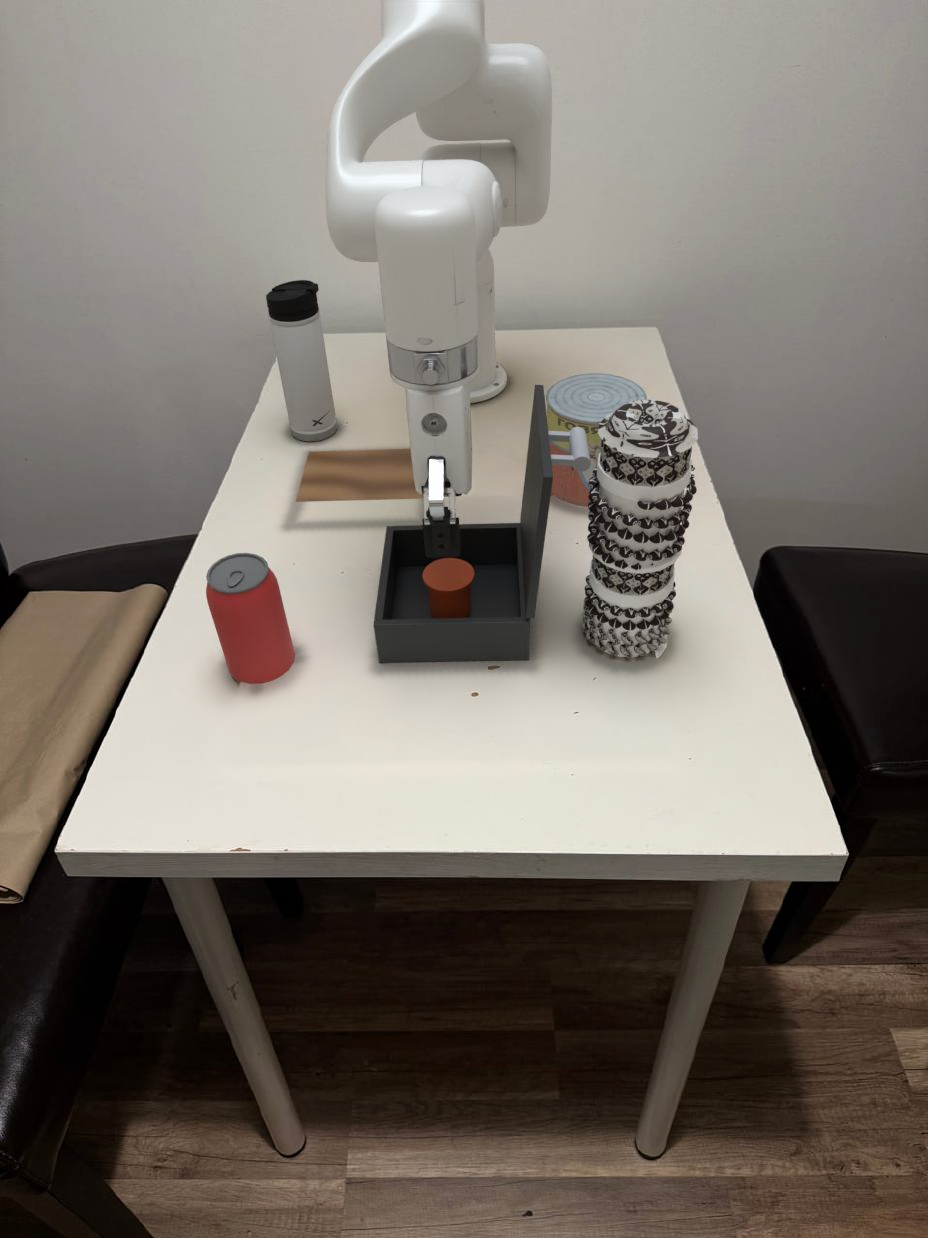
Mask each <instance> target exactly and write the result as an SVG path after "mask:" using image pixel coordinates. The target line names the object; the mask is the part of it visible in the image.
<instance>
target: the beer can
mask: <svg viewBox="0 0 928 1238" xmlns="http://www.w3.org/2000/svg"><path fill="white" fill-rule="evenodd" d="M205 577H206V582H207V583H206V588H205V596H206V601H207V605H208V609H209V612H210V615H211V618H212V621H213V625H214V627H215V628H214V629H215V631H216V634H217V637H218V641H219V643H220V647H221V651H222V653H223V657H224V660H225V663H226V666H227V670H228V673H229V674H230V675H231V677H232V678H233V679H234V680H235V681H237V682H239V683H244V684H245V683H246V684H249V685H254V684H255V685H256V684H257V685H258V684H260V685H261V684H265V683H269V682H272V681H274V680H277V679H278V678H280V677H282V676H284V675H285V674H286V673H287V672H289V670H290V669H291V667H292V666H293V664H294V662H295V657H296V653H295V649H294V644H293V640H292V636H291V632H290V628H289V623H288V618H287V615H286V614H287V613H286V610H285V606H284V601H283V598H282V594H281V589H280V584H279V582H278V578H277V576H276V575H275V573H274V571H273V570H272V569H271V568H270V567H269V563H268V561H266V559H265V558H264V557H262V556H260V555H258V554H256V553H251V552H236V553H232V554H228V555H225V556H224V557H222V558H220V559H218V560H217V561H215V562H214V563H213V564H212V565H211V566H210V567H209V569H208V570H207V573H206V576H205Z"/></svg>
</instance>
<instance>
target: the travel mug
mask: <svg viewBox="0 0 928 1238" xmlns="http://www.w3.org/2000/svg"><path fill="white" fill-rule="evenodd" d="M319 290H320V289H319V284H318V283H317V282H313V281H311V280H307V279H297V280H291V281H286V282H282V283H280V284H277V285H276V286H274V287H273V288H271V290H270V291H269V292H267V294H266V295H265V300H266V306H267V311H268V319H269V324H270V330H271V334H272V335H271V336H272V339H273V344H274V350H275V355H276V360H277V361H276V362H277V365H278V366H277V367H278V371H279V377H280V381H281V387H282V391H283V398H284V401H285V407H286V412H287V417H288V422H289V428H290V432H291V435H292V436H293V437H294V438H295V439H297V440H300V441H303V442H319V441H323V440H325V439H328V438H329V437H331V436H333V435H334V434H335V432H336V431H337V430H338V424H337V423H338V422H337V417H336V409H335V404H334V396H333V391H332V384H331V377H330V371H329V364H328V357H327V351H326V344H325V336H324V331H323V324H322V317H321V314H320V312H321V311H320V308H319V307H320V306H319V302H318V296H317V293H319Z"/></svg>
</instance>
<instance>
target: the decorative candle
mask: <svg viewBox="0 0 928 1238" xmlns="http://www.w3.org/2000/svg"><path fill="white" fill-rule="evenodd" d="M598 434H599V436H600V437H601V439H602V440H601V452H600V453H599V457H598V464H597V467H596V468H595V469H594V470H593V472H592V475H593V477H591V478H590V480H589V487H590V488H591V489H590V492H589V494H588V498H589V500H590V502H589V503H588V507H587V508H588V510H589V512H588V515H587V518H588V520H589V523H588V525H587V531H588V532H589V534H588V535H587V536H586V539H587V542H588V547H589V550H590V551H591V553H592V558H591V560H590V566H589V574H588V575H587V576H586V577H585V583H586V585H585V586H584V594H585V596H586V597H585V598H584V599H583V612H582V621H583V622H582V624H581V629H582V632H583V634H585V635H586V640H587V641H588V642H589V643H591V644H592V645H595V647H596V648H597V650H599V651H600V652H604V653H607V654H609V655H611V656H612V657H620V658H625V659H632V658H637V657H638V658H641V657H644V656H646V655H648V654H651V653H652V652H654V653H655V659H656V660H658V659H660V658H661V656H662V655H663V653H664V652H665V650H666V649H667V646H668V636H669V635H670V634H671V631H670V629H669V627H667V626H669V625H670V624H671V623H672V622H673V618H672V617H670V614H672V612H673V610H674V607H675V605H674V603H673V600H674V599H675V598H676V595H677V592H676V589H675V588H676V586H677V585H676V582H675V563H676V562H677V561H678V559H679V557H681V555H682V551H683V545H684V544H685V542H686V539H685V537H684V535H685V533H686V529H688V528H689V527H690V521H689V520H688V519H689V517H690V513H691V512H692V510H693V506H692V504H691V503H690V502H691V501H692V500H693V498H694V495H695V494H696V493H697V490H698V489H697V486H696V481H695V480H694V478H696V476H695V474H693V473H692V472H694V471H695V469H696V468H695V466H694V465H693V464H692V453H693V450H692V449H693V446H694V445H695V443H696V442H697V441H698V440H699V429H698V427H697V426H696V424H694V422H693V421H692V420H691V419H690V418H688V417H687V416H686V415H685V414H684V413H683V412H682V410H681V409H680V408H679V407H677V406H675V405H673V404H671V403H670V402H666V401H662V400H658V399H648V398H647V399H643V400H636V401H631V402H629V403H626V404H624V405H621V406H620V407H619V408H618V409H617V410H616V411H615V412H614V413H611V414H609V415H607V416H606V417H605V418H604V419H603V420H602V421H601V422H600V423H599V429H598ZM596 479H598V480H597V481H596ZM598 491H599V492H598ZM595 500H596V501H595Z"/></svg>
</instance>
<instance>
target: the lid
mask: <svg viewBox="0 0 928 1238" xmlns="http://www.w3.org/2000/svg"><path fill="white" fill-rule="evenodd" d="M533 389H534V390H533V399H532V409H531V417H530V426H529V436H528V446H527V452H526V453H527V454H526V462H525V463H526V464H525V472H524V480H523V491H522V499H521V508H520V517H519V520H520V522H519V523H521V542H522V560H523V579H524V598H525V616H526V618H530V619H535V616H536V615H535V614H536V606H537V599H538V593H539V585H540V579H541V578H540V577H541V571H542V563H543V556H544V547H545V540H546V535H547V534H546V532H547V526H548V519H549V511H550V503H551V496H552V495H551V490H552V482H553V471H552V465H559V466H572V467H573V469H574V470H576V471H578V472H584V471H586V470H588V469H589V467H590V465H591V462H590V456H589V450H588V443H587V437H586V432H585V430H584V429H583V428H581V427H574V428H572V429H571V430H570V431H569V432H563V431H548V424H547V404H546V397H545V396H546V395H545V388H544V384H534V388H533ZM549 441H559V442H569V445H570V453H571V455H551V452H550V443H549Z"/></svg>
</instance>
